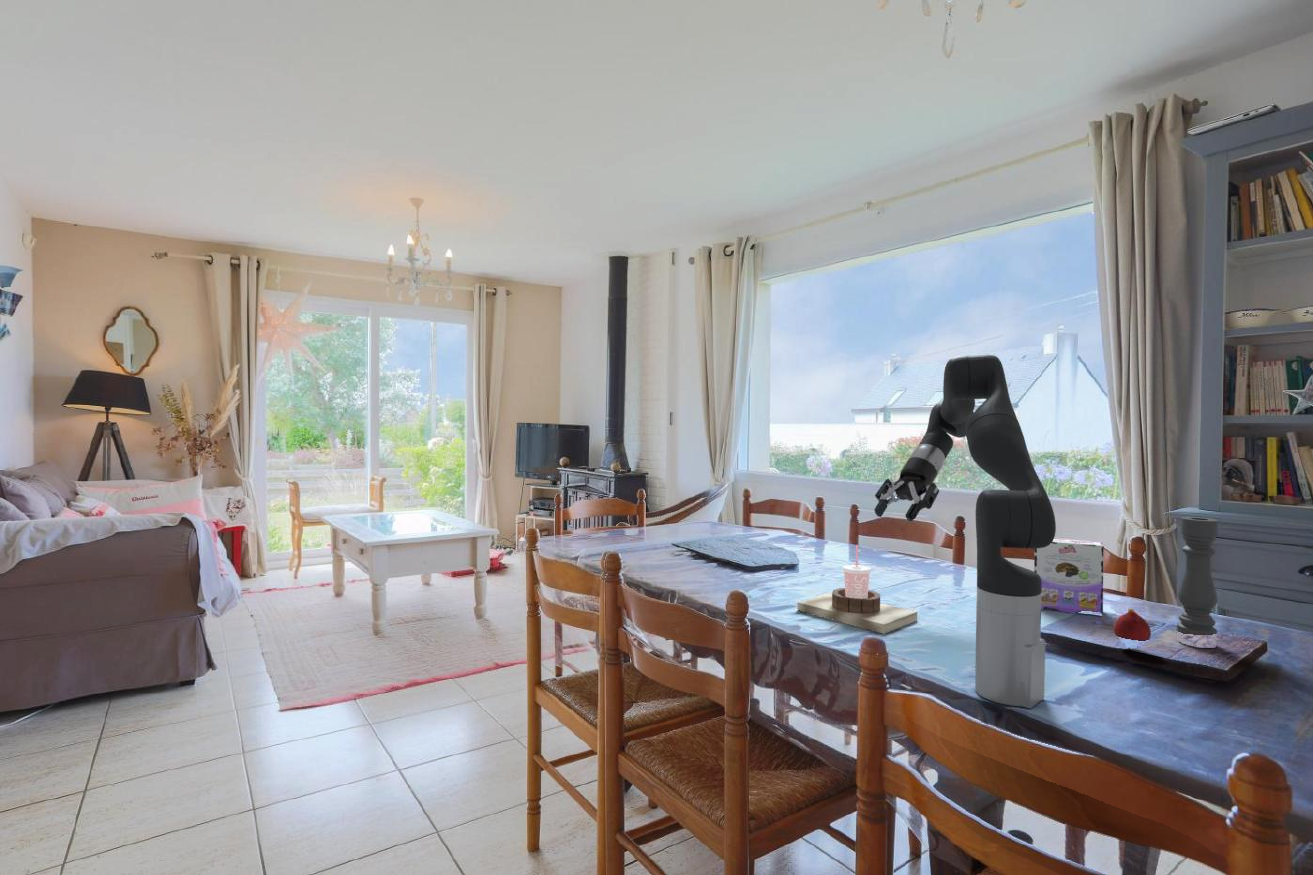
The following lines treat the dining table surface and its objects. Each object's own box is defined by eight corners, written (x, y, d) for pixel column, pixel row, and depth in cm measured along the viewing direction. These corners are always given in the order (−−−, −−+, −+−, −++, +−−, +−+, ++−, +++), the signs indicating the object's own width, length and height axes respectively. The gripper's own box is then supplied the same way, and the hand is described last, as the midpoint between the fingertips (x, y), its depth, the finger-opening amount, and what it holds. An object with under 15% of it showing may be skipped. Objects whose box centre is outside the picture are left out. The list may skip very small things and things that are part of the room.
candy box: (1102, 611, 154) (1103, 541, 154) (1103, 617, 149) (1104, 545, 149) (1034, 602, 161) (1035, 535, 161) (1032, 608, 156) (1034, 539, 156)
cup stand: (917, 620, 146) (917, 598, 146) (884, 634, 137) (884, 610, 137) (832, 600, 163) (832, 579, 163) (797, 610, 154) (797, 589, 154)
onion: (1152, 649, 128) (1153, 608, 128) (1147, 657, 124) (1148, 615, 124) (1116, 642, 132) (1116, 602, 132) (1110, 649, 128) (1111, 608, 128)
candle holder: (1224, 649, 128) (1227, 521, 128) (1187, 647, 129) (1190, 520, 129) (1204, 639, 134) (1207, 517, 134) (1169, 637, 136) (1172, 516, 135)
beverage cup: (841, 608, 148) (842, 546, 148) (843, 601, 154) (843, 542, 154) (870, 611, 146) (870, 548, 146) (870, 604, 152) (871, 543, 152)
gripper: (891, 454, 165) (860, 503, 159) (943, 457, 153) (912, 509, 147) (904, 475, 168) (874, 523, 162) (956, 479, 157) (926, 531, 150)
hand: (892, 516), depth 155 cm, fingers open, 8 cm apart
